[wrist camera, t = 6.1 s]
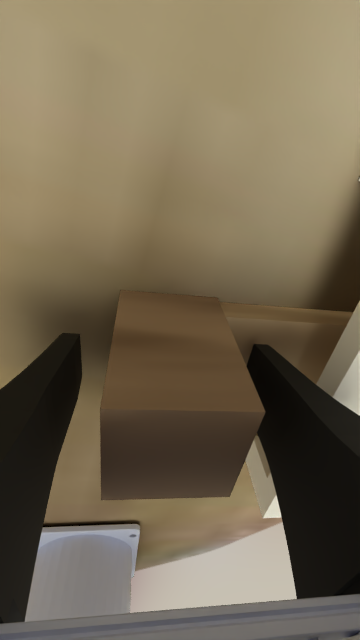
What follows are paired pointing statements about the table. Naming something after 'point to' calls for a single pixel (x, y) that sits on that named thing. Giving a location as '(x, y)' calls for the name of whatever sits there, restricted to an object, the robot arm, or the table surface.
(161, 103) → the table surface
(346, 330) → the shelf
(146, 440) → the brown wooden mallet
